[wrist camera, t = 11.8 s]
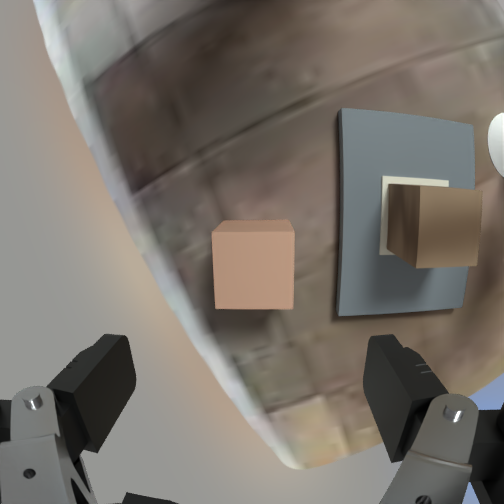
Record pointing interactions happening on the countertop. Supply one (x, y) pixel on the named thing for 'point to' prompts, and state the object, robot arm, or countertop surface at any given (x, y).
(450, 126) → the slate board
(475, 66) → the countertop surface
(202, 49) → the countertop surface
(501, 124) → the champagne flute
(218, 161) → the countertop surface
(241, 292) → the terracotta block
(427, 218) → the walnut block
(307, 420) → the countertop surface
